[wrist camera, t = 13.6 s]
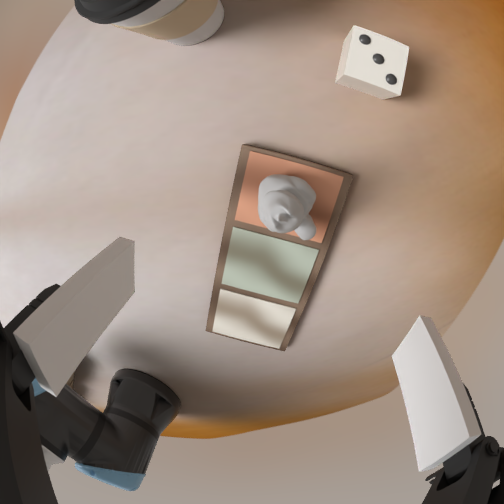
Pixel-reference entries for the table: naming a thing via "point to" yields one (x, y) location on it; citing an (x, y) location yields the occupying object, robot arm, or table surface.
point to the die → (372, 63)
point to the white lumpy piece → (287, 205)
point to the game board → (271, 252)
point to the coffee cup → (158, 17)
